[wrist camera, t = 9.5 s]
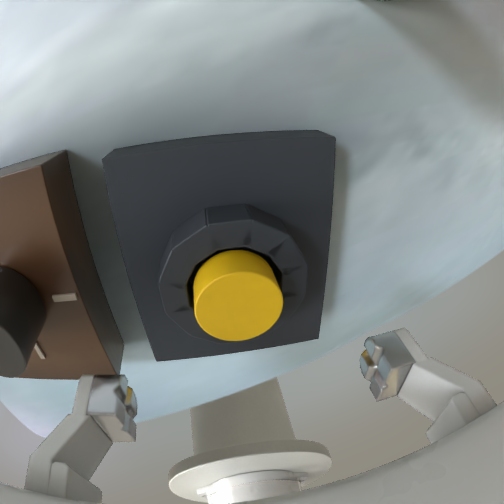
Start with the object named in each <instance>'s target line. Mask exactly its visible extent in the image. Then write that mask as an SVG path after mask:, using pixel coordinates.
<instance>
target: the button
mask: <svg viewBox="0 0 504 504" xmlns="http://www.w3.org/2000/svg"><path fill="white" fill-rule="evenodd" d="M193 289H194V311H195V317H196V320H197V322H198V324H199V325H200V326H201V328H202V329H203V330H204V331H205V332H207V333H208V334H210V335H211V336H213V337H216V338H218V339H222V340H227V341H242V340H247V339H251V338H254V337H256V336H259V335H261V334H262V333H264V332H266V331H267V330H268V329H270V328H271V327H272V326H273V325H274V324H275V322H276V321H277V320H278V318H279V317H280V314H281V312H282V308H283V296H282V292H281V290H280V288H279V285H278V283H277V281H276V278H275V276H274V273H273V271H272V269H271V267H270V265H269V264H268V263H267V262H266V260H264V259H263V258H262V257H260V256H259V255H257V254H255V253H252V252H249V251H244V250H230V251H225V252H221V253H219V254H216V255H214V256H213V257H211V258H209V259H208V260H207V261H206V262H205V263H204V264H203V265H202V266H201V267H200V268H199V270H198V272H197V273H196V276H195V279H194V285H193Z"/></svg>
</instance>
